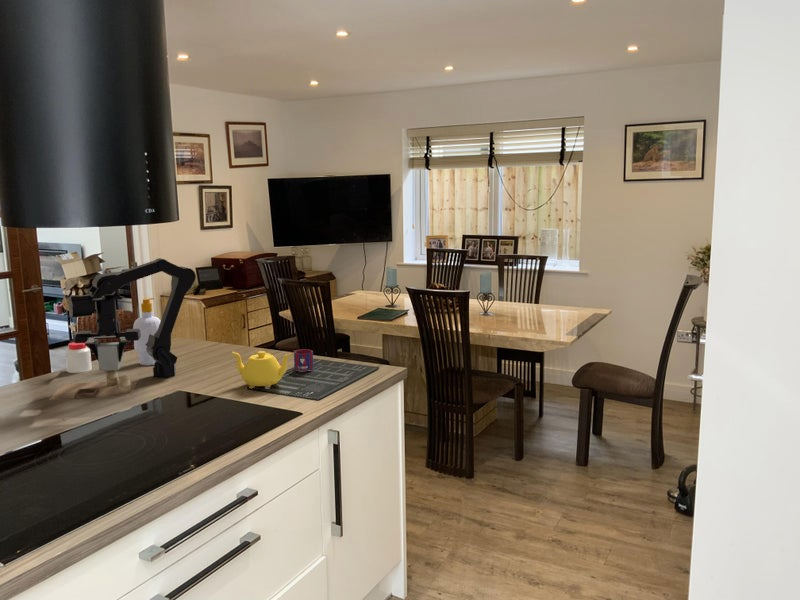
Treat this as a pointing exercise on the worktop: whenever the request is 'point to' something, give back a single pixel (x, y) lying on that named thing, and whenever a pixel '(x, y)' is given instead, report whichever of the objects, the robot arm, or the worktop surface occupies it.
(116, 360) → the block
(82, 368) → the pill bottle
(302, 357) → the mug
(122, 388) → the maple peg
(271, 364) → the teapot
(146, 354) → the soap bottle
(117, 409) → the worktop surface
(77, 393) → the board
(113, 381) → the peg
